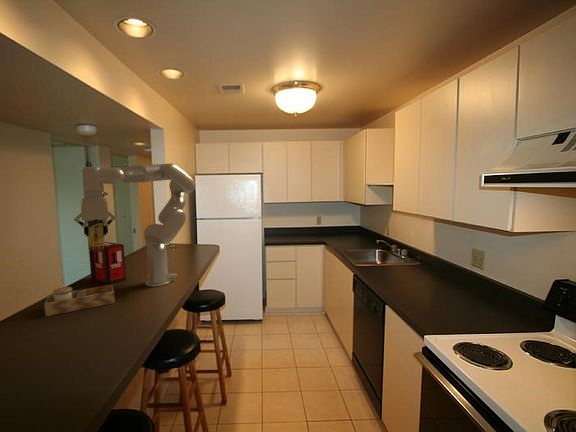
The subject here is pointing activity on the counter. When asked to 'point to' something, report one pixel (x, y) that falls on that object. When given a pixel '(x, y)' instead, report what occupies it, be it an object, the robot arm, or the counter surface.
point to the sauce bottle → (96, 235)
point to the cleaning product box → (108, 264)
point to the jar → (62, 293)
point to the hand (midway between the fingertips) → (96, 235)
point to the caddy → (80, 300)
